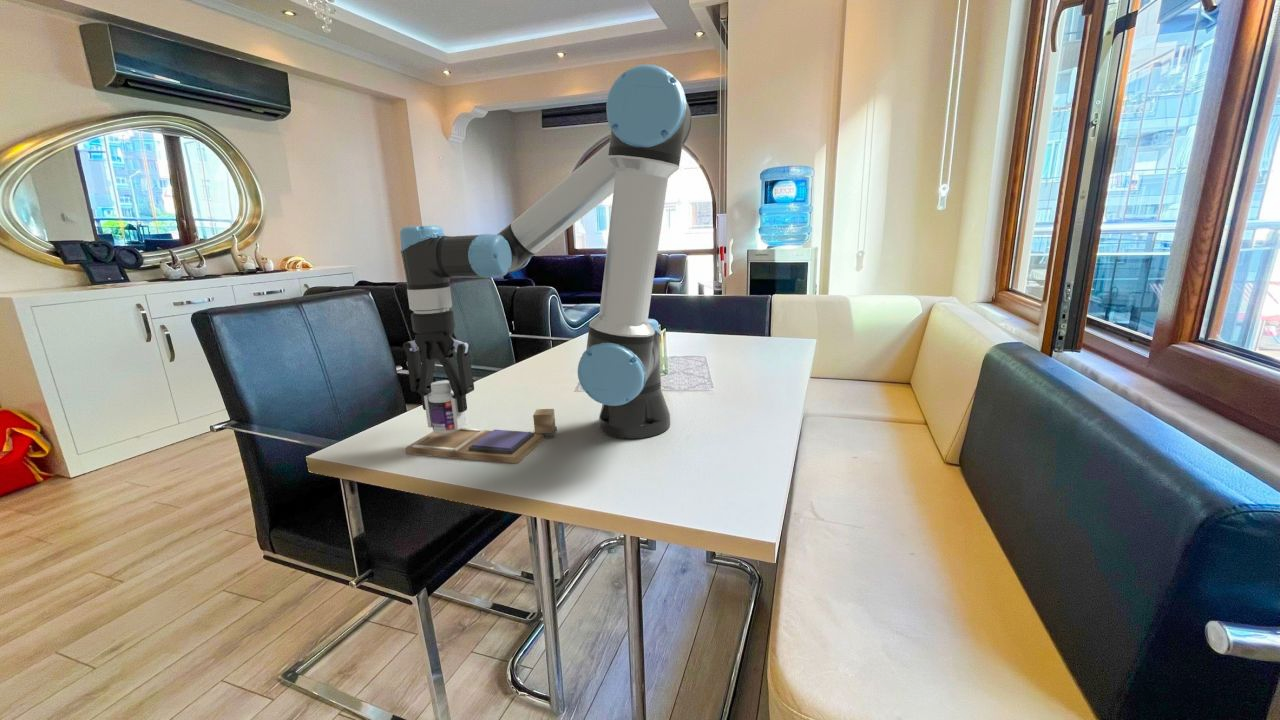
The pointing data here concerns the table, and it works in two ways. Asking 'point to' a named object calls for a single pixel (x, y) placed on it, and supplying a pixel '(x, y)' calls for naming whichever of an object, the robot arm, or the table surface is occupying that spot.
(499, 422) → the table surface
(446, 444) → the board
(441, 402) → the pill bottle
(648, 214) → the robot arm
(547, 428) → the stamp block
